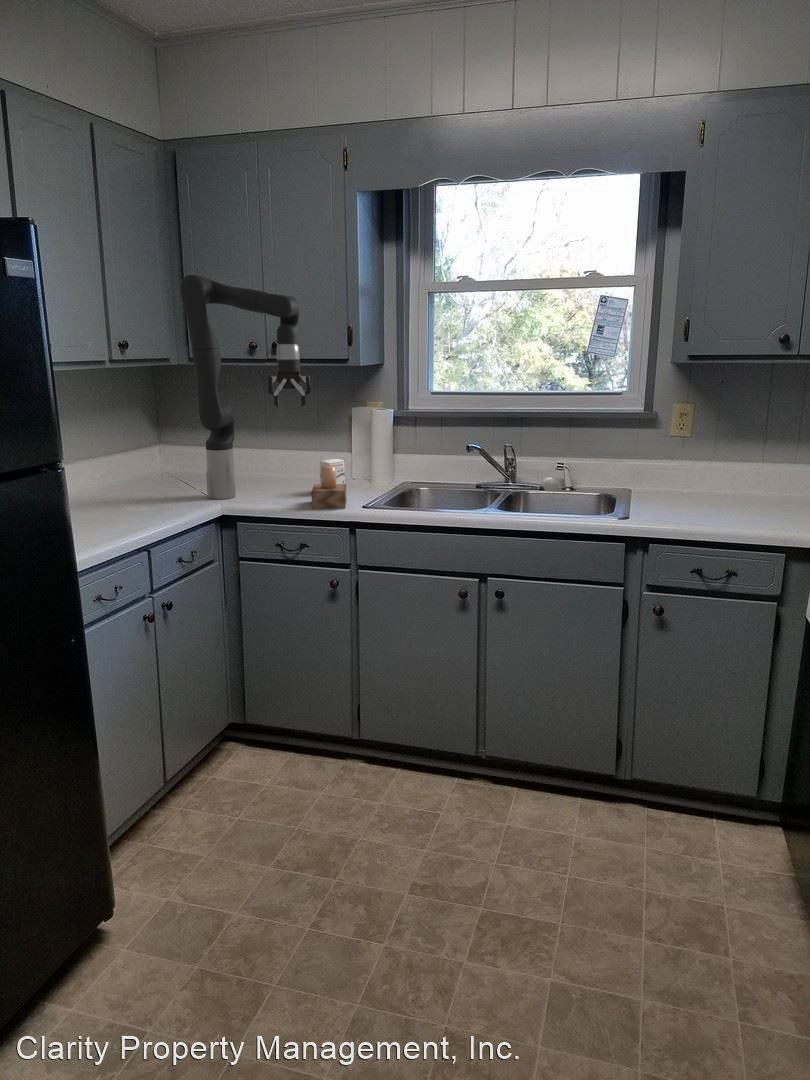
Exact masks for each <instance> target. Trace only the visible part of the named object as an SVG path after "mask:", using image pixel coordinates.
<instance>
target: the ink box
mask: <svg viewBox="0 0 810 1080" xmlns="http://www.w3.org/2000/svg"><path fill="white" fill-rule="evenodd" d="M321 466H336V484H346V482H345V476H346V474H345V472H346V471H345V470H346V469H345V460H344V459H341V458H330V459H325V460H321V461H319V476H320V477H319V484H321Z"/></svg>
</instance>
